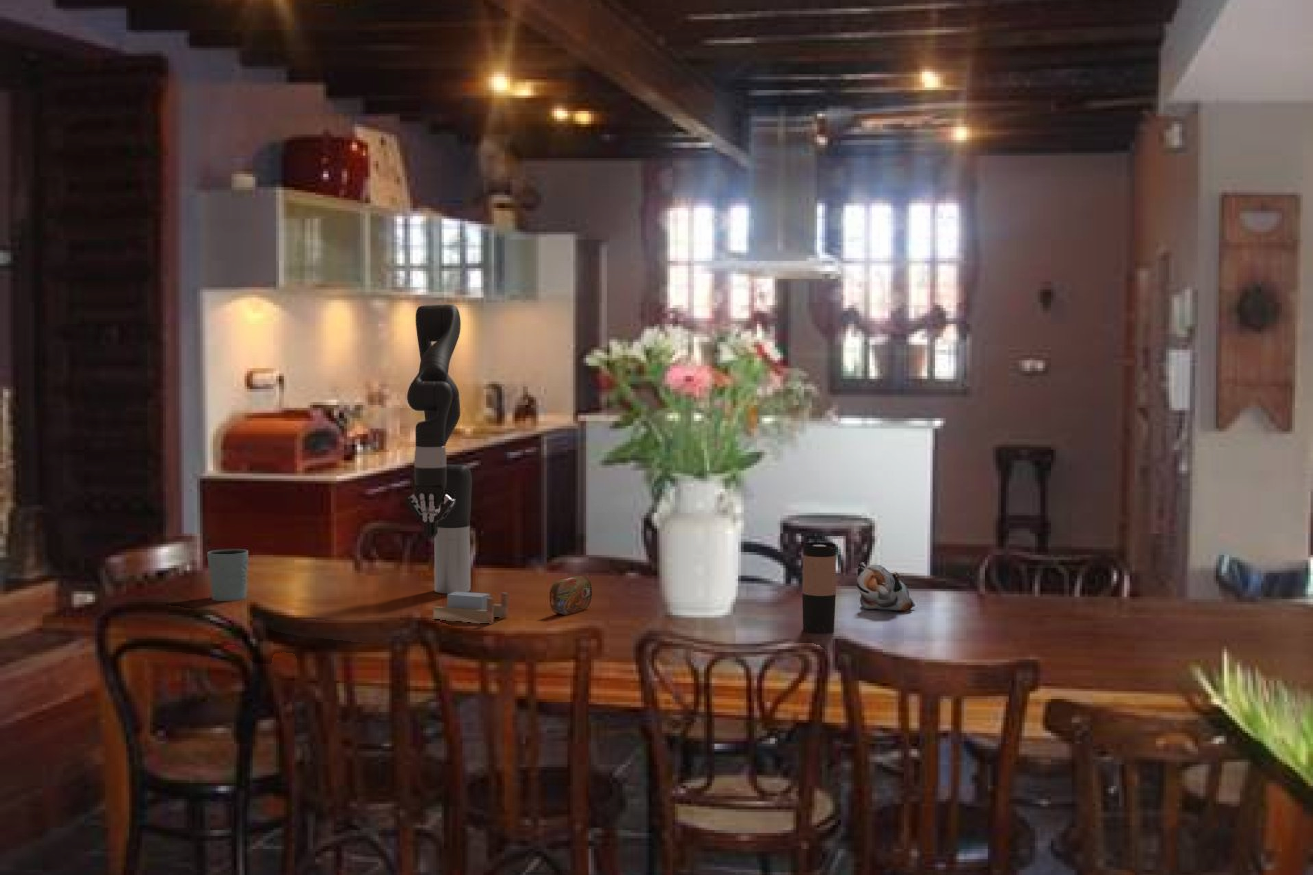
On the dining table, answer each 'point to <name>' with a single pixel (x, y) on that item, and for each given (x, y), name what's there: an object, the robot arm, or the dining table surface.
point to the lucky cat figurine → (882, 589)
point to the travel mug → (819, 586)
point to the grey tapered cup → (228, 574)
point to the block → (467, 600)
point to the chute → (474, 612)
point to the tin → (570, 595)
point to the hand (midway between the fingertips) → (430, 537)
